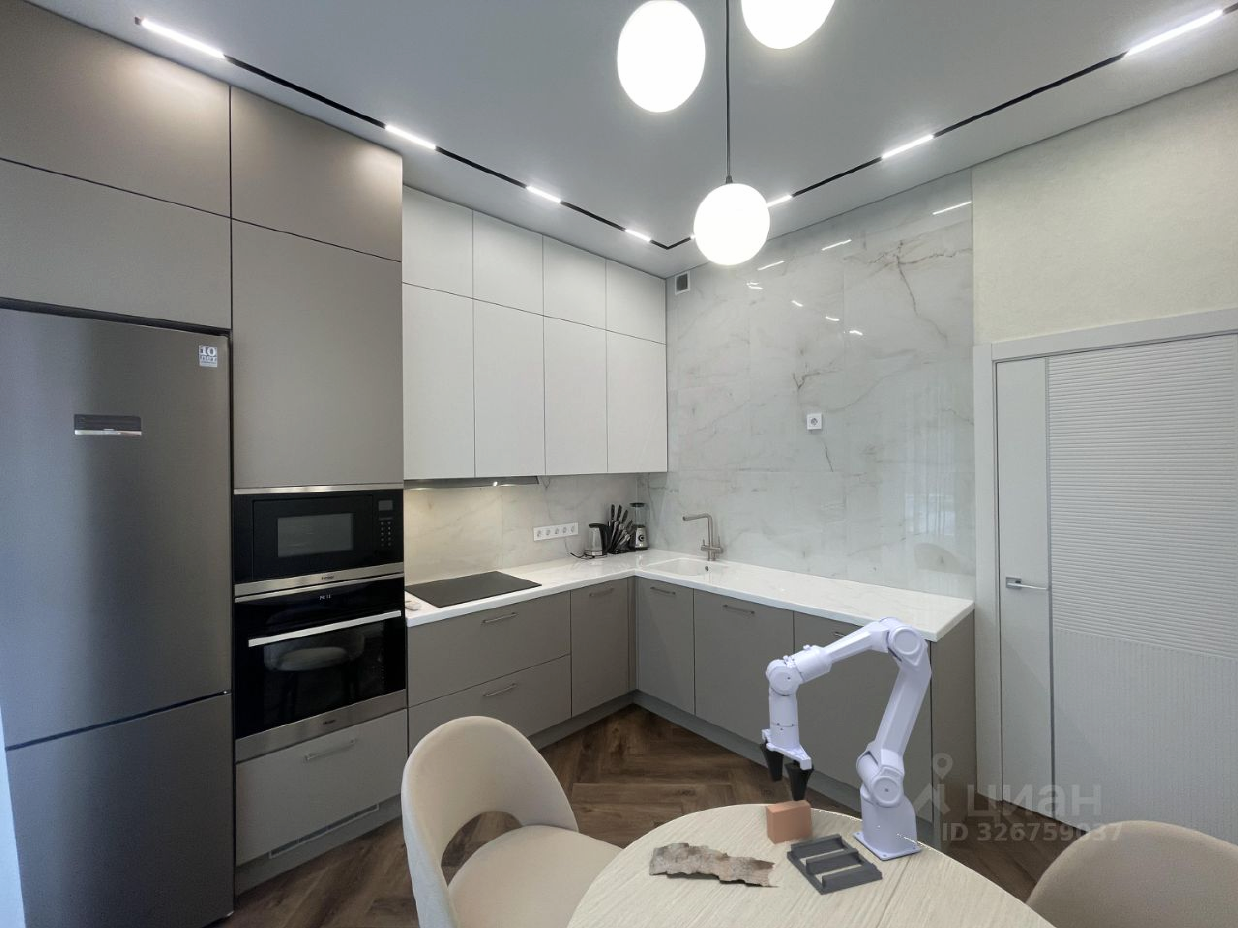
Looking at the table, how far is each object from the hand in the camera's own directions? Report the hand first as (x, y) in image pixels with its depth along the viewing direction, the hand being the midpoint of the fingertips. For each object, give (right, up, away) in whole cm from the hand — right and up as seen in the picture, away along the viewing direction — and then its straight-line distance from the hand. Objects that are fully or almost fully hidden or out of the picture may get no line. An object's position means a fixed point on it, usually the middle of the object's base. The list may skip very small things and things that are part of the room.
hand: (787, 789), depth 103 cm
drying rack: (+5, -8, -11) cm, 14 cm away
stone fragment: (-17, -9, -10) cm, 22 cm away
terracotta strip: (0, -9, -1) cm, 9 cm away
